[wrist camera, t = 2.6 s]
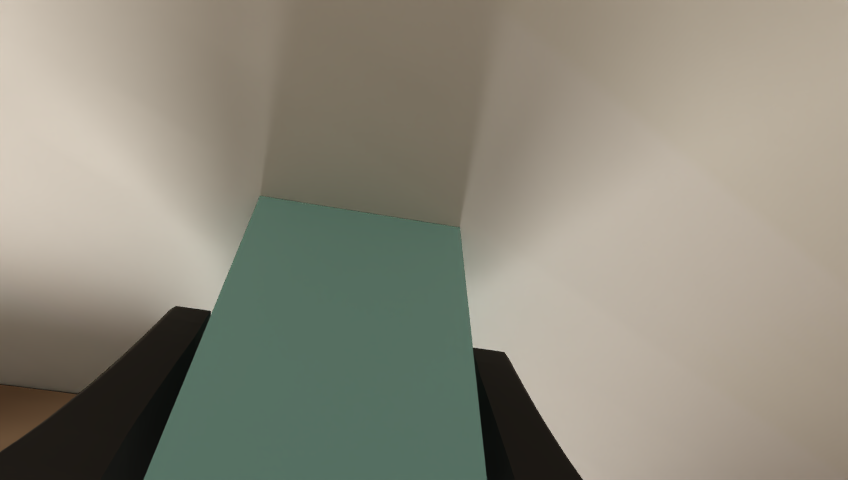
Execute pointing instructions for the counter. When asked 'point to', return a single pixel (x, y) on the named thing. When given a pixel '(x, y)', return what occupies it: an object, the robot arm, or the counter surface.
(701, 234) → the counter surface
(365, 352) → the plug
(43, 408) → the parts box
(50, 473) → the robot arm
